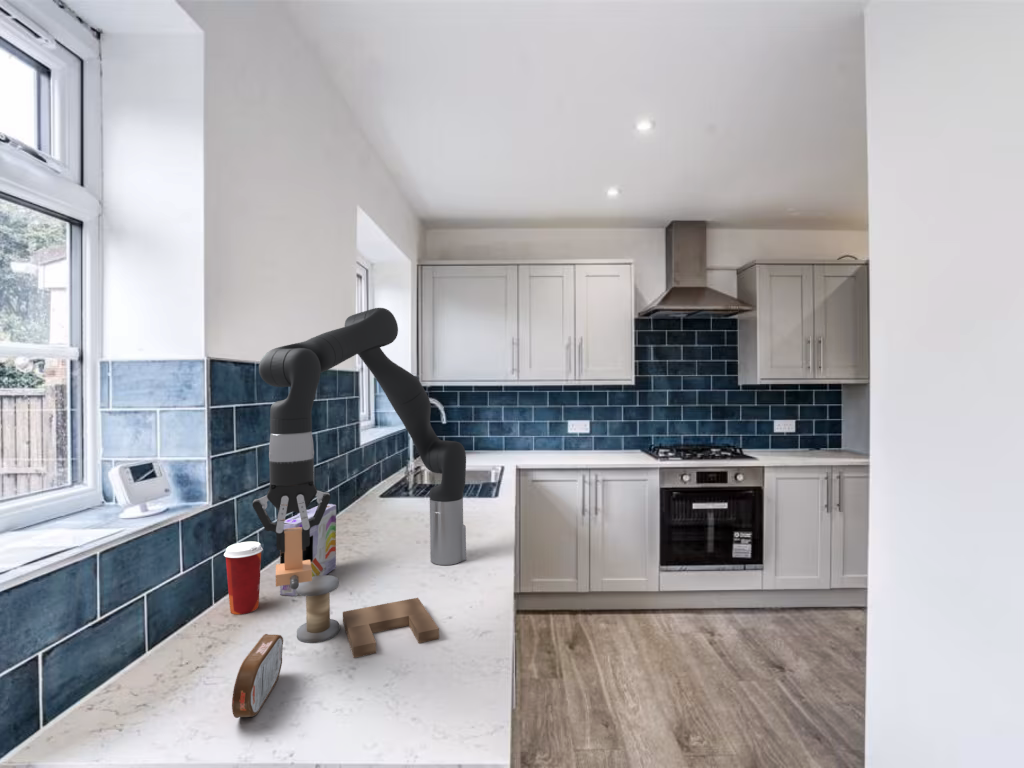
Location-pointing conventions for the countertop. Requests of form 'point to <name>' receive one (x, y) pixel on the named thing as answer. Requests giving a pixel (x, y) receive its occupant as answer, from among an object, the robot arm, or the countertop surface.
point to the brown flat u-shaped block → (387, 624)
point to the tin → (257, 676)
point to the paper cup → (243, 576)
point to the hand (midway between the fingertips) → (293, 550)
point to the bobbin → (318, 609)
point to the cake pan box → (316, 544)
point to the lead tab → (293, 561)
